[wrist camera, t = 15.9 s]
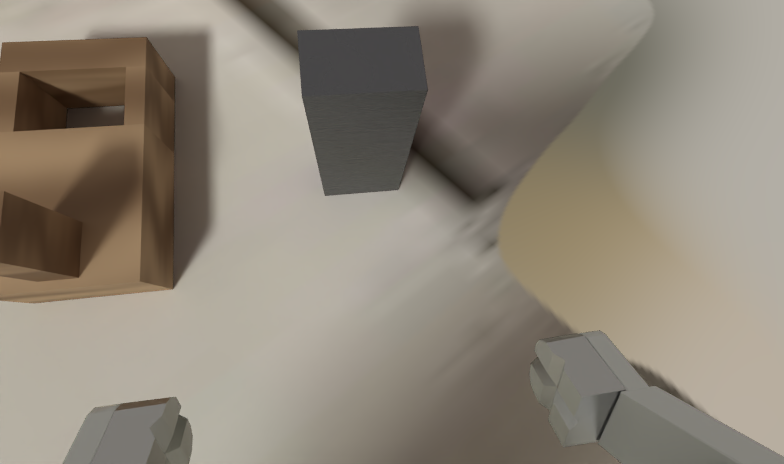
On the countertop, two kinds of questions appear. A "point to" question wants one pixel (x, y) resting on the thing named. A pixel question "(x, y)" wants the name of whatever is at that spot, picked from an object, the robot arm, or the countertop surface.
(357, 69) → the lever cap
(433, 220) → the countertop surface
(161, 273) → the hand plane
